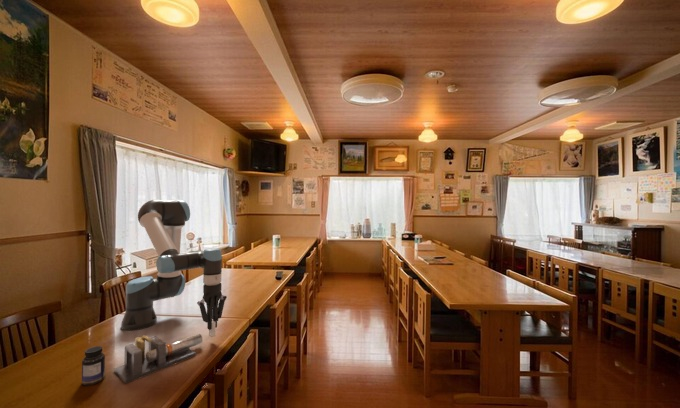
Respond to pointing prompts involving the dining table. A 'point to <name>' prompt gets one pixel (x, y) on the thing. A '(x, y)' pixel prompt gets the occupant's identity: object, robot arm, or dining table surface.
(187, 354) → the grey mechanical fixture
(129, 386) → the dining table surface
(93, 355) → the pill bottle
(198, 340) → the air tube
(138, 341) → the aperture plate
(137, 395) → the dining table surface
